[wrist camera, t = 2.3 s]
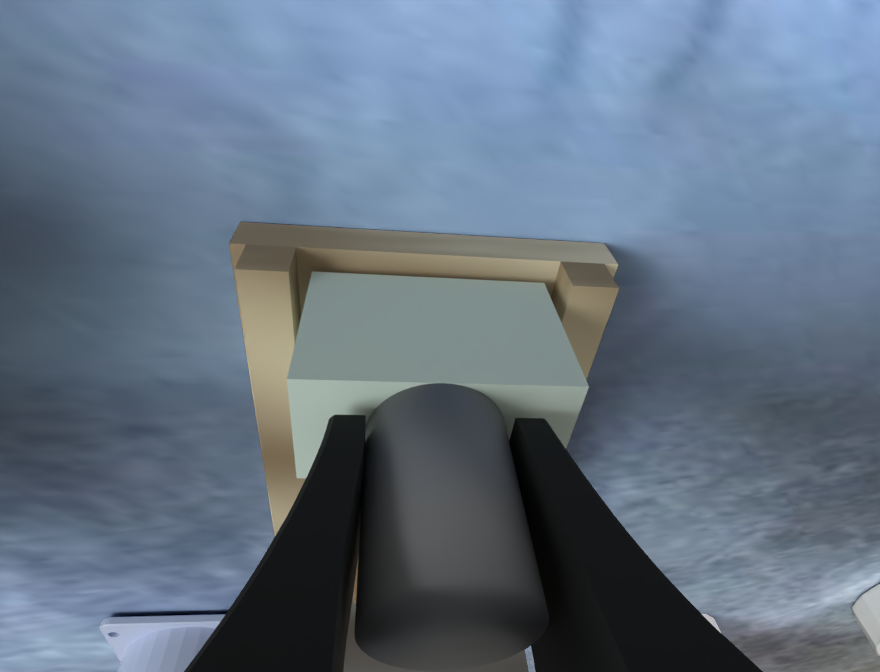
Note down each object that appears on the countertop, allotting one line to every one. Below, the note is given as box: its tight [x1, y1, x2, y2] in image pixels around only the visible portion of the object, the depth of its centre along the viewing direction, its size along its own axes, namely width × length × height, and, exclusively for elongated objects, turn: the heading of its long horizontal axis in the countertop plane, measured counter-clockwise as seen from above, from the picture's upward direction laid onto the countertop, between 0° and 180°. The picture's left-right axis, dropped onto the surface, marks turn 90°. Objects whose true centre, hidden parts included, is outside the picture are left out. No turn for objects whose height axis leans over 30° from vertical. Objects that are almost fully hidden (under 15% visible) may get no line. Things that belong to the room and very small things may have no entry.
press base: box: [229, 222, 619, 672], centre depth 17 cm, size 18×10×6 cm, turn 174°
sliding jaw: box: [287, 272, 589, 671], centre depth 11 cm, size 3×6×8 cm, turn 84°
